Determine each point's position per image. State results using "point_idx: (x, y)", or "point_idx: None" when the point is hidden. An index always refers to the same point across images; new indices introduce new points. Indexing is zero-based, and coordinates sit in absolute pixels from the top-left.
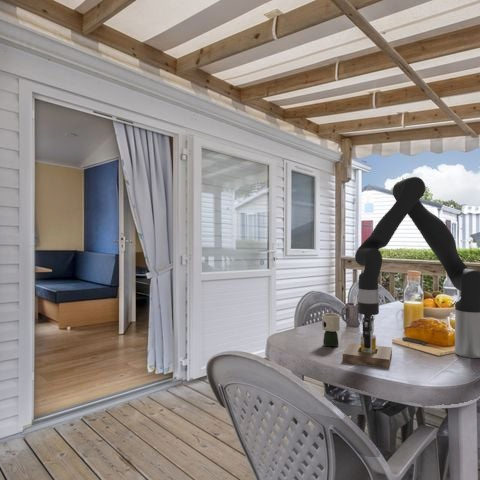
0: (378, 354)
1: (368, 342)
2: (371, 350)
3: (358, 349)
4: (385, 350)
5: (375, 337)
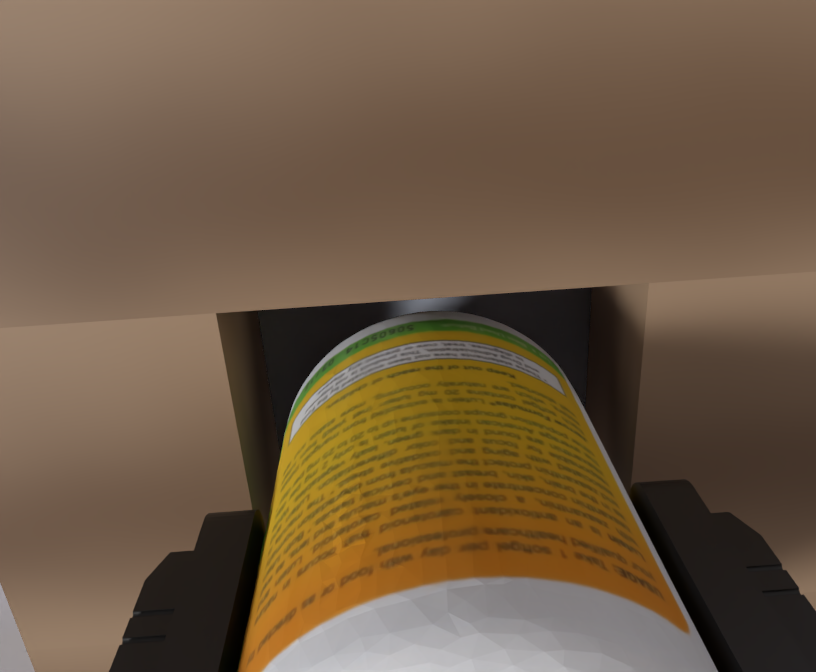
0: (662, 235)
1: (807, 618)
2: (584, 416)
3: None
4: (222, 126)
5: (506, 577)
